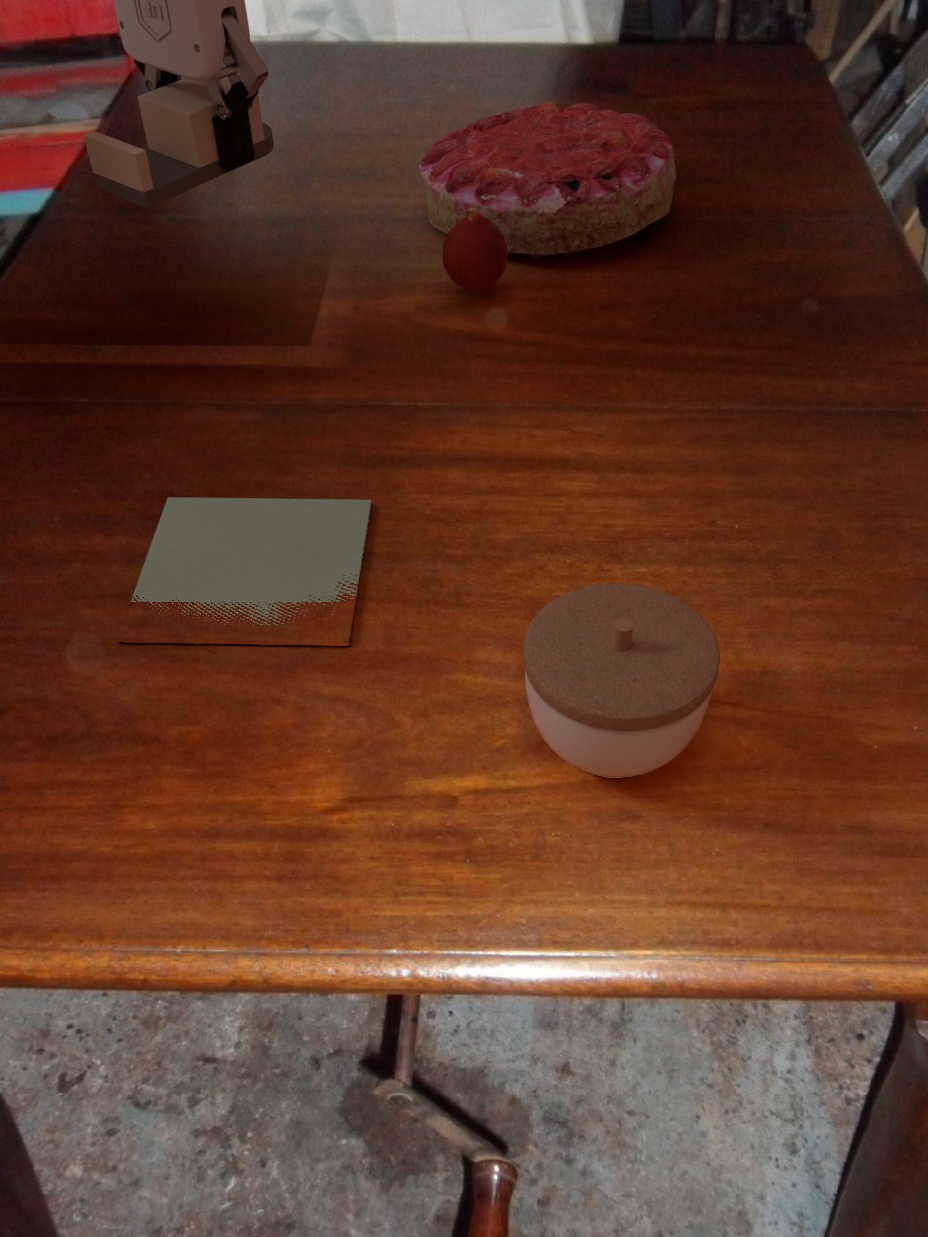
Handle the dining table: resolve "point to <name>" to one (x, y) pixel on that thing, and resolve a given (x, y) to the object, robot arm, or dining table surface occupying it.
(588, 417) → the dining table surface
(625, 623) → the trinket box
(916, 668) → the dining table surface
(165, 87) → the block with front tab
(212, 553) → the mat
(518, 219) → the cake
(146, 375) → the dining table surface
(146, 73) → the robot arm
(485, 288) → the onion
